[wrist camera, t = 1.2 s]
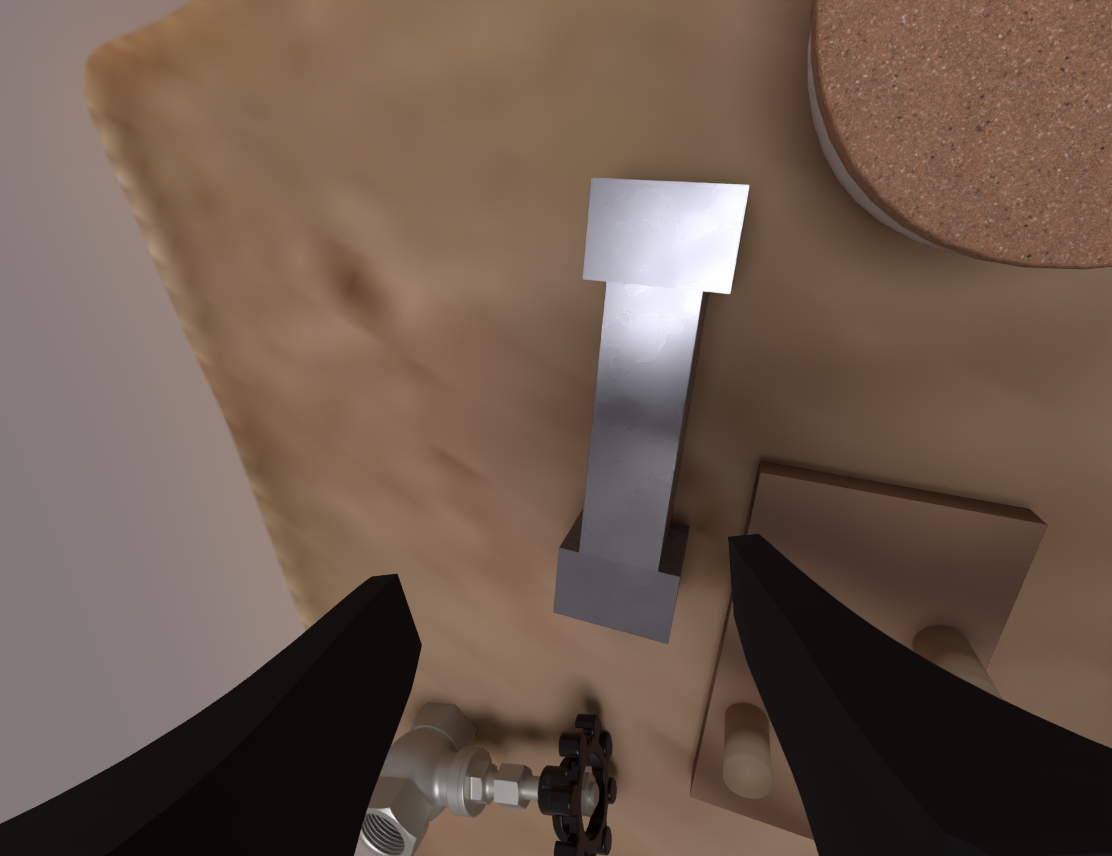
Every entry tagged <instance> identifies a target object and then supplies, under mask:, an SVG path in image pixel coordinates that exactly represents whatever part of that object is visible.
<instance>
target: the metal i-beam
mask: <svg viewBox="0 0 1112 856" xmlns="http://www.w3.org/2000/svg"><path fill="white" fill-rule="evenodd" d="M748 193H749V185H738V184H717V183H695V182H674V181H652V180H630V179H609V178H592V180H591V191H590V203H589V214H588V225H587V237H586V248H585V260H584V271H583V279H584V280H594V281H604V282H607V285H606V295H605V305H604V315H603V324H602V334H601V344H600V354H599V363H598V373H597V383H596V393H595V402H594V412H593V422H592V432H591V441H590V451H589V461H588V471H587V480H586V490H585V500H584V508H583V510H582V512H581V513H580V515H579V516H578V518H577V520H576V521H575V523H574V525H573V526H572V528H571V529H570V531H569V533H568V534H567V536H566V537H565V539H564V541H563V542H562V544H561V546H560V547H559V555H558V566H557V578H556V589H555V600H554V613H557V614H561V615H565V616H568V617H572V618H575V619H579V620H583V621H586V622H590V623H593V624H597V625H601V626H604V627H608V628H611V629H615V630H619V631H622V632H626V633H630V634H633V635H637V636H640V637H644V638H648V639H651V640H655V641H658V642H662V643H666V644H668V642H669V637H670V631H671V626H672V621H673V615H674V610H675V605H676V599H677V594H678V588H679V583H680V577H681V572H682V566H683V561H684V555H685V549H686V544H687V538H688V532H689V527H690V526H685V525H680V524H676V523H671V518H672V512H673V506H674V500H675V494H676V487H677V481H678V475H679V469H680V463H681V457H682V451H683V445H684V439H685V433H686V427H687V420H688V414H689V408H690V402H691V396H692V390H693V384H694V378H695V372H696V366H697V359H698V353H699V347H700V341H701V335H702V329H703V323H704V317H705V311H706V305H707V299H708V292H715V293H725V294H730V293H731V289H732V285H733V279H734V273H735V268H736V262H737V257H738V251H739V245H740V240H741V234H742V228H743V223H744V217H745V212H746V206H747V200H748Z"/></svg>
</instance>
